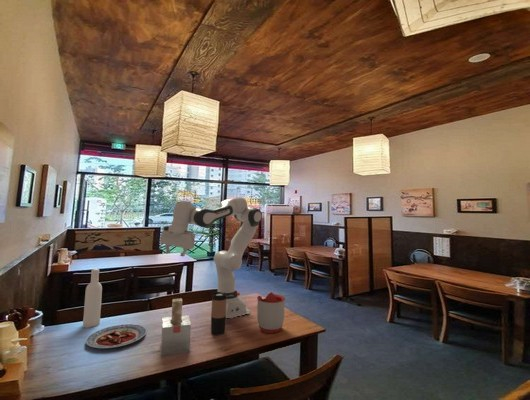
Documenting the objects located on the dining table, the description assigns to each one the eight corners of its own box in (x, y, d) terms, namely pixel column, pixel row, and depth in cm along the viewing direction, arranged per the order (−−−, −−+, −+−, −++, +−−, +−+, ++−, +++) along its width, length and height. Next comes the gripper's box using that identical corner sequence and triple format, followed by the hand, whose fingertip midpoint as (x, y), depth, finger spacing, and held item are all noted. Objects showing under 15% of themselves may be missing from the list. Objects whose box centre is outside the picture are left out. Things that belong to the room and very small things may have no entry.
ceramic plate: (113, 357, 111) (113, 350, 111) (72, 346, 120) (73, 339, 120) (157, 333, 135) (157, 327, 135) (120, 325, 144) (121, 319, 144)
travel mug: (212, 336, 133) (214, 296, 134) (208, 330, 139) (210, 292, 141) (227, 334, 136) (228, 295, 138) (222, 328, 143) (223, 291, 144)
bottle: (80, 328, 138) (85, 271, 140) (84, 323, 145) (88, 268, 148) (98, 326, 141) (102, 270, 144) (101, 321, 148) (104, 267, 151)
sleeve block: (187, 340, 128) (188, 315, 129) (189, 352, 116) (191, 324, 117) (161, 343, 124) (162, 317, 125) (160, 356, 112) (162, 328, 113)
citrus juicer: (271, 320, 156) (272, 286, 157) (290, 331, 142) (291, 293, 143) (249, 326, 147) (250, 290, 148) (267, 338, 133) (268, 298, 134)
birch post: (179, 341, 123) (181, 298, 125) (180, 345, 119) (182, 301, 121) (169, 342, 122) (172, 299, 123) (170, 347, 118) (172, 301, 119)
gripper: (198, 232, 142) (194, 257, 141) (167, 226, 148) (163, 251, 147) (192, 232, 136) (187, 258, 135) (160, 226, 142) (156, 251, 141)
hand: (175, 254), depth 141 cm, fingers open, 8 cm apart
